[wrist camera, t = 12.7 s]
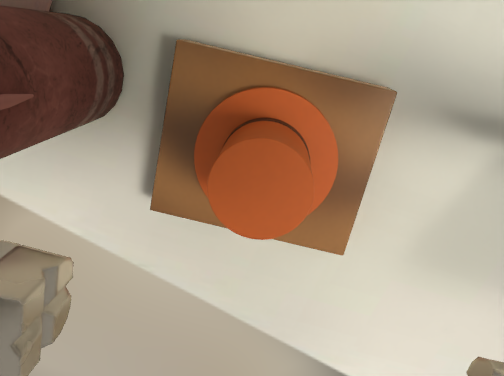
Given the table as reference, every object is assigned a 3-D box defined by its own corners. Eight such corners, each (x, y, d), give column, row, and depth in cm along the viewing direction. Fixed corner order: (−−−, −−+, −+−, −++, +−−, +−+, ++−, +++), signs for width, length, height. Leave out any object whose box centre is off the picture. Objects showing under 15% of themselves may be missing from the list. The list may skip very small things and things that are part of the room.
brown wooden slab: (184, 39, 25) (176, 38, 23) (389, 87, 25) (398, 91, 23) (158, 198, 28) (149, 210, 26) (339, 241, 28) (343, 256, 26)
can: (138, 118, 26) (-11, 194, 13) (39, 123, 27) (-199, 202, 14) (122, 10, 24) (-72, -27, 11) (15, 19, 25) (-287, -6, 12)
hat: (210, 71, 23) (187, 80, 18) (355, 105, 23) (375, 124, 18) (185, 206, 26) (159, 248, 21) (315, 237, 26) (323, 287, 21)
